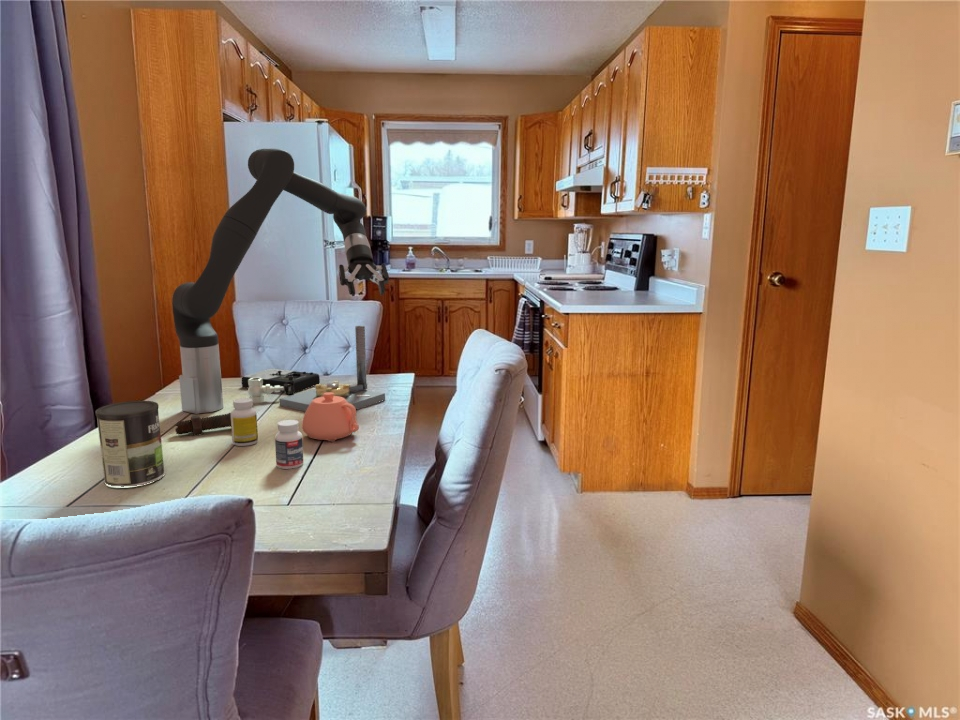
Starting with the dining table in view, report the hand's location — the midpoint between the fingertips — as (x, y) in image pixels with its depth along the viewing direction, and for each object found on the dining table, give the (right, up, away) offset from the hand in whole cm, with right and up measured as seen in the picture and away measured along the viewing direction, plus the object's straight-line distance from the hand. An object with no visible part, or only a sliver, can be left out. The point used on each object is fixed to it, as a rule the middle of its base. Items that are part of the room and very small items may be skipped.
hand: (368, 294), depth 183 cm
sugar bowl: (-2, -37, -36) cm, 52 cm away
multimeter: (-29, -27, +12) cm, 41 cm away
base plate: (-8, -31, -8) cm, 33 cm away
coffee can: (-33, -42, -62) cm, 82 cm away
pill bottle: (-6, -40, -54) cm, 68 cm away
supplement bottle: (-20, -38, -41) cm, 59 cm away
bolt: (-31, -36, -33) cm, 58 cm away
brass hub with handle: (-6, -28, -6) cm, 29 cm away
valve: (-26, -31, -6) cm, 40 cm away
